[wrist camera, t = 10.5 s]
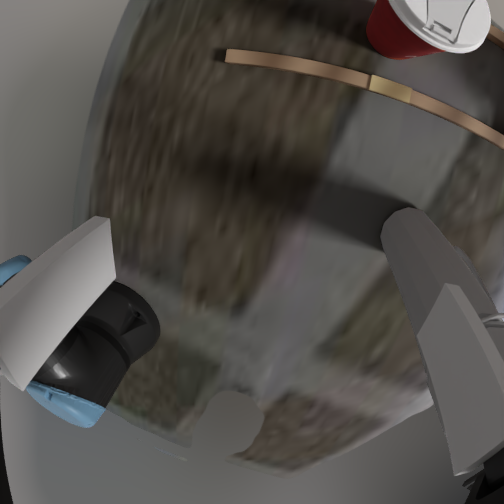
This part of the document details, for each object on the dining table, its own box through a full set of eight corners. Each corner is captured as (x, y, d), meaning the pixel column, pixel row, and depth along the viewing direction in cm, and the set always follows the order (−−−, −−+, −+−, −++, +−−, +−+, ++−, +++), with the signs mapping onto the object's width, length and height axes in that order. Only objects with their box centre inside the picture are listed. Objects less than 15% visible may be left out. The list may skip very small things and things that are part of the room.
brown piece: (229, 64, 27) (223, 62, 25) (251, -43, 19) (246, -52, 17) (507, 153, 24) (517, 157, 22) (521, 52, 16) (532, 52, 14)
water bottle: (377, 262, 35) (422, 450, 14) (378, 203, 31) (463, 389, 10) (440, 256, 33) (520, 420, 11) (446, 200, 29) (570, 351, 8)
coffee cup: (417, 81, 24) (490, 73, 11) (348, 52, 24) (379, 13, 11) (430, 22, 19) (498, -13, 7) (363, -7, 20) (395, -70, 7)
